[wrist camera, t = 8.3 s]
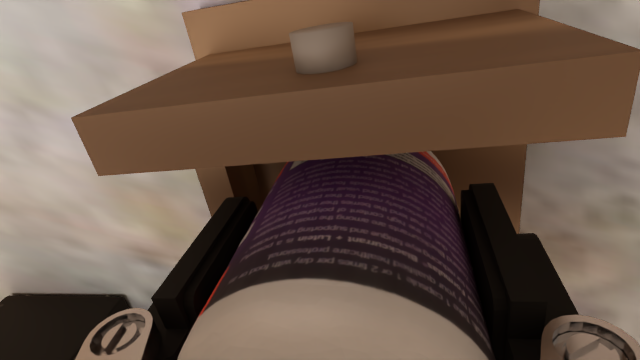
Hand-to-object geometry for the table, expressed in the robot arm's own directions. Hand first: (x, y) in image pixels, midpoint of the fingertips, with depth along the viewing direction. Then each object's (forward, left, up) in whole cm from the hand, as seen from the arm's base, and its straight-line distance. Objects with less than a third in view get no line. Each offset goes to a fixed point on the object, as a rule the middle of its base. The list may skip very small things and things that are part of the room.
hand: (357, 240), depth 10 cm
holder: (0, 0, -5) cm, 5 cm away
